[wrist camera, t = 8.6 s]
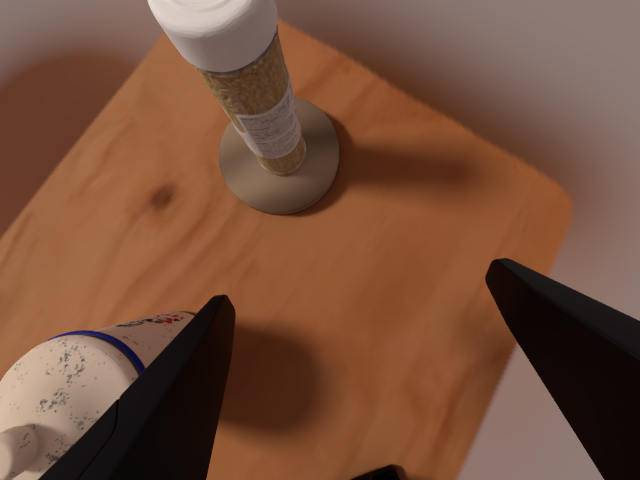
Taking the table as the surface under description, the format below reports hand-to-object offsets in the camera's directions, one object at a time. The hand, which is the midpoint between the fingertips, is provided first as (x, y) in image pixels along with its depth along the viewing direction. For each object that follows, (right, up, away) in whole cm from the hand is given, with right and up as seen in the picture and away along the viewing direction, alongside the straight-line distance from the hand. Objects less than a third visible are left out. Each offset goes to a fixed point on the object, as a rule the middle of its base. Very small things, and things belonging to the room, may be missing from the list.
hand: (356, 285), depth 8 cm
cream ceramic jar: (-16, -10, +14) cm, 23 cm away
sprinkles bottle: (-5, +9, +14) cm, 17 cm away
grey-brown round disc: (-5, +9, +15) cm, 18 cm away
